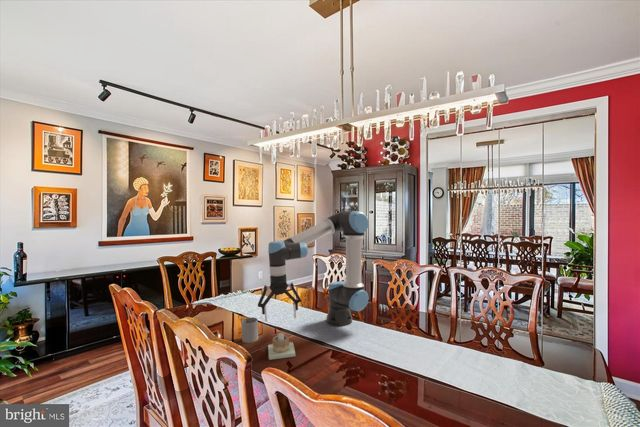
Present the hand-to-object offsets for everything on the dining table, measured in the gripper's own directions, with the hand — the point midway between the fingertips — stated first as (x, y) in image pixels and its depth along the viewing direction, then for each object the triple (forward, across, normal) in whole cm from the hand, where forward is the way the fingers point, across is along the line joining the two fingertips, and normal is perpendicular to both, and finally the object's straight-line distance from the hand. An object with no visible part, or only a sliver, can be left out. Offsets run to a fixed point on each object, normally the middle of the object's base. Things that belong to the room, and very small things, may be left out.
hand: (280, 319), depth 144 cm
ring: (+14, +1, 0) cm, 14 cm away
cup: (+16, +16, -19) cm, 29 cm away
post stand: (+16, +1, 0) cm, 16 cm away
